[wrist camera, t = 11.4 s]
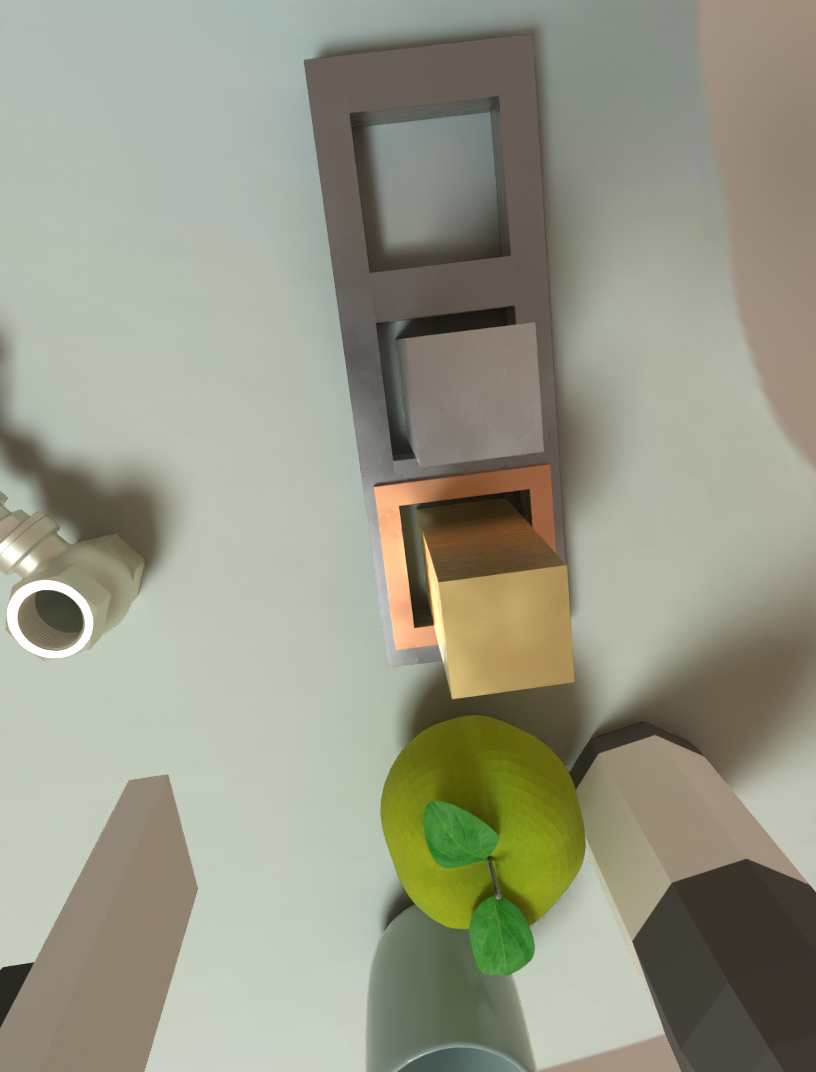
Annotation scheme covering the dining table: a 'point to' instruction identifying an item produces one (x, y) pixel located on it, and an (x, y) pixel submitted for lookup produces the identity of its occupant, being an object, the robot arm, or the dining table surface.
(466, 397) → the grey rectangular block
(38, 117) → the dining table surface
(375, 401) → the grey compartment tray
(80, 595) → the valve
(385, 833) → the fruit
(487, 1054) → the cup
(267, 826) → the dining table surface
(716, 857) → the wine bottle
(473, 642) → the brass block
